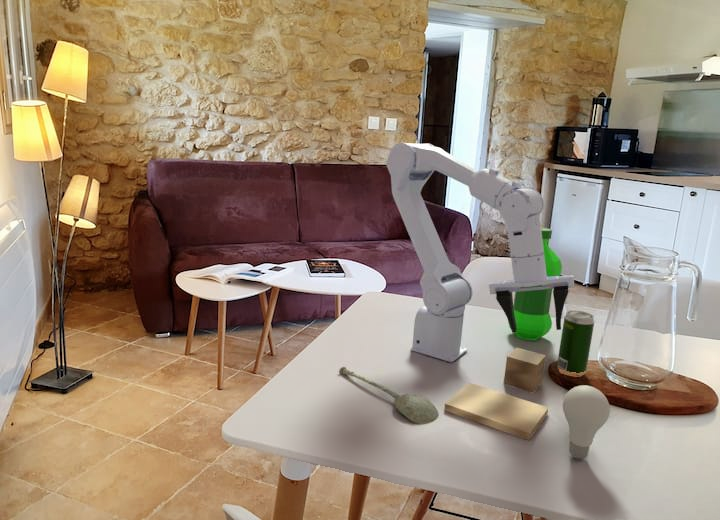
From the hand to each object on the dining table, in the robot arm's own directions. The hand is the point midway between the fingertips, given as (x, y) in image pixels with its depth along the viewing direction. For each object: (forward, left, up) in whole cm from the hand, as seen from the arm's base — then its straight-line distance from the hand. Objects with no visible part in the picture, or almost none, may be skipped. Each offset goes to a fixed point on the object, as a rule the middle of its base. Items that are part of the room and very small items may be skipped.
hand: (536, 329), depth 98 cm
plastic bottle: (-8, +25, -11) cm, 28 cm away
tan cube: (-1, 0, -11) cm, 11 cm away
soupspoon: (-18, -21, -11) cm, 30 cm away
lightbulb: (+13, -19, -11) cm, 26 cm away
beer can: (+5, +11, -11) cm, 16 cm away
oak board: (-1, -14, -11) cm, 18 cm away
